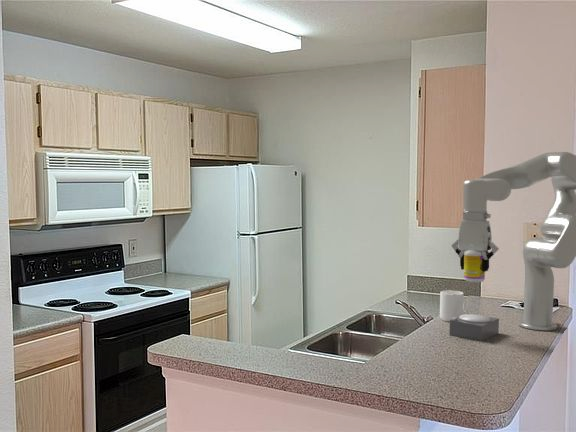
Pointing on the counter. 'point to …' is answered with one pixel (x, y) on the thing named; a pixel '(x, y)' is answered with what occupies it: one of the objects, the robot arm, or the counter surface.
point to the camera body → (474, 327)
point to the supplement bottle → (473, 265)
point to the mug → (451, 304)
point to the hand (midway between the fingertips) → (474, 269)
